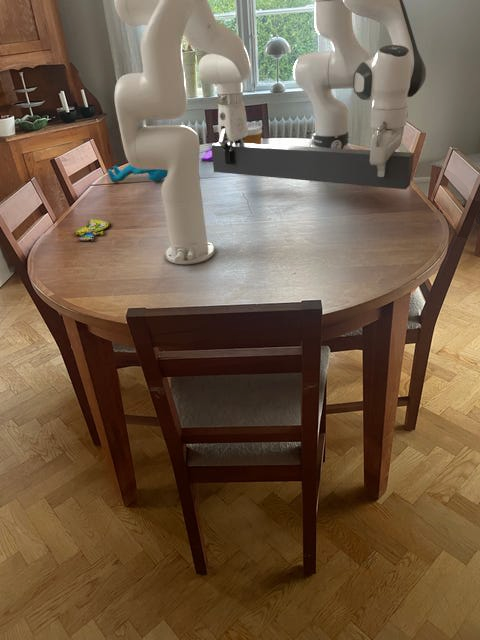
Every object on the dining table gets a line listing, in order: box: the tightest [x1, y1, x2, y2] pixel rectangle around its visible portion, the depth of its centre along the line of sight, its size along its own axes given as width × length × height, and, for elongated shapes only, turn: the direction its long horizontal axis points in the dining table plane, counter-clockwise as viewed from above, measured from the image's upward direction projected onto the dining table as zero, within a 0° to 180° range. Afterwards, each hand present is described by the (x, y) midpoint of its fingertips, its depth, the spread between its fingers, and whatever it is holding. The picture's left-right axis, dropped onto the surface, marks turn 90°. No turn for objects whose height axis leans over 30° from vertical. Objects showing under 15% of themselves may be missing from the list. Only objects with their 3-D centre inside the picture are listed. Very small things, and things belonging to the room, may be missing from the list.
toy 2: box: [107, 163, 168, 183], centre depth 182 cm, size 17×11×30 cm
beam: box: [210, 141, 415, 190], centre depth 141 cm, size 62×5×8 cm, turn 59°
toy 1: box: [74, 219, 111, 242], centre depth 143 cm, size 10×1×15 cm
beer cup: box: [244, 124, 263, 144], centre depth 196 cm, size 10×10×12 cm
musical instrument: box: [199, 145, 213, 162], centre depth 208 cm, size 24×2×20 cm
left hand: (234, 161), depth 153 cm, fingers closed on beam, 4 cm apart
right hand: (384, 172), depth 130 cm, fingers closed on beam, 5 cm apart
